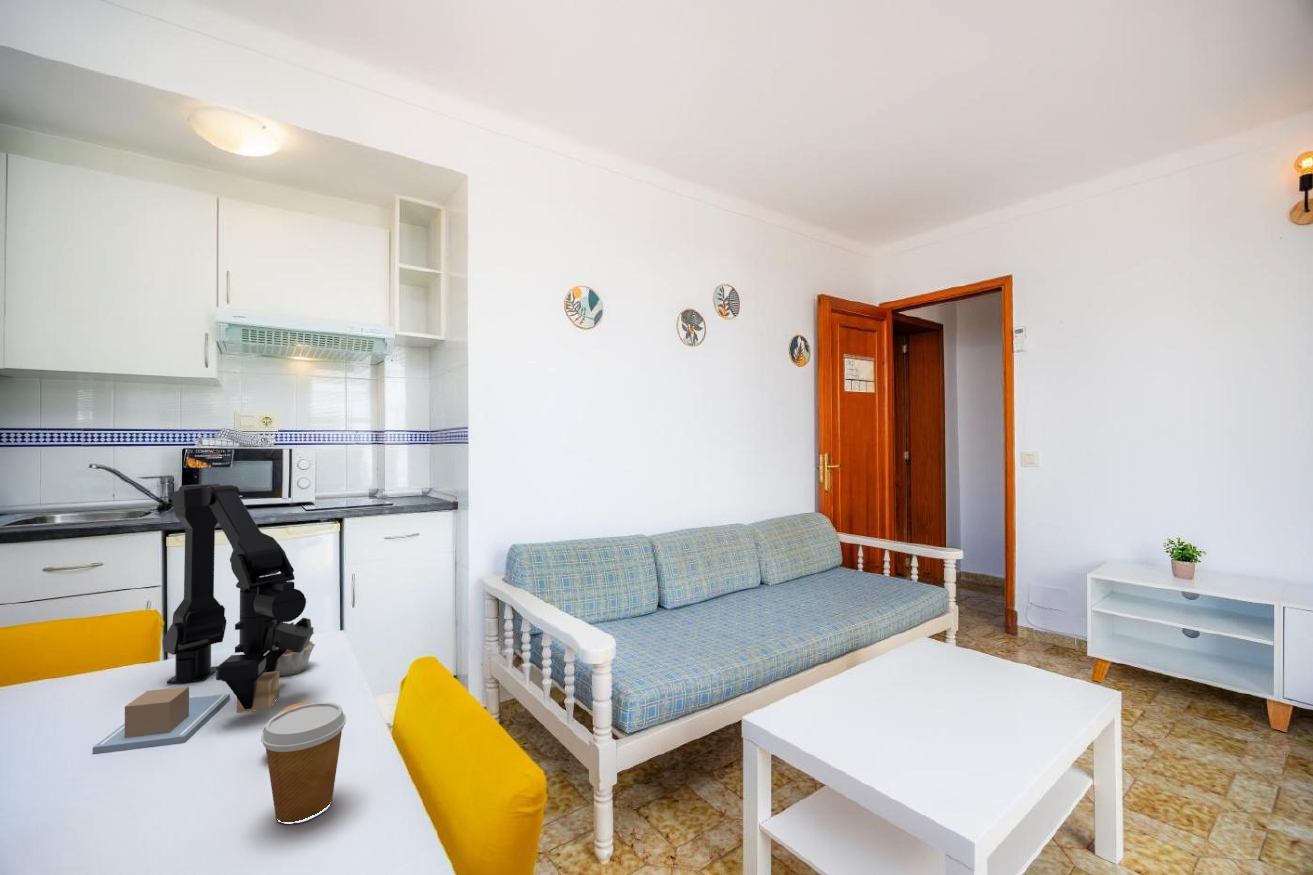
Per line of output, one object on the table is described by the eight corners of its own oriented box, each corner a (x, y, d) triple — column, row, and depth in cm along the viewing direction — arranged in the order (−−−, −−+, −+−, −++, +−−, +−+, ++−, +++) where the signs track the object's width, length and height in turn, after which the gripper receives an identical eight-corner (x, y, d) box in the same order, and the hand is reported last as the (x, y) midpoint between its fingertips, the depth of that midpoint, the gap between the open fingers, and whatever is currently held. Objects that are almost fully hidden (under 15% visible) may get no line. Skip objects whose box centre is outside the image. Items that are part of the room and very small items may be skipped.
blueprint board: (153, 707, 102) (153, 674, 102) (230, 699, 106) (230, 667, 106) (92, 753, 87) (92, 714, 87) (184, 742, 90) (185, 705, 90)
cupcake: (259, 683, 112) (259, 633, 113) (265, 667, 121) (265, 620, 121) (313, 674, 117) (314, 626, 117) (316, 659, 125) (316, 614, 125)
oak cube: (248, 700, 105) (248, 674, 105) (279, 697, 106) (279, 671, 107) (236, 713, 100) (236, 685, 100) (268, 709, 102) (268, 681, 102)
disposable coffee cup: (329, 778, 80) (329, 694, 81) (358, 805, 74) (358, 714, 74) (249, 812, 73) (250, 719, 73) (274, 845, 67) (275, 744, 67)
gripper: (290, 625, 97) (290, 716, 97) (323, 596, 115) (322, 673, 115) (214, 631, 94) (214, 725, 94) (260, 601, 112) (259, 679, 112)
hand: (258, 698), depth 103 cm, fingers open, 8 cm apart
